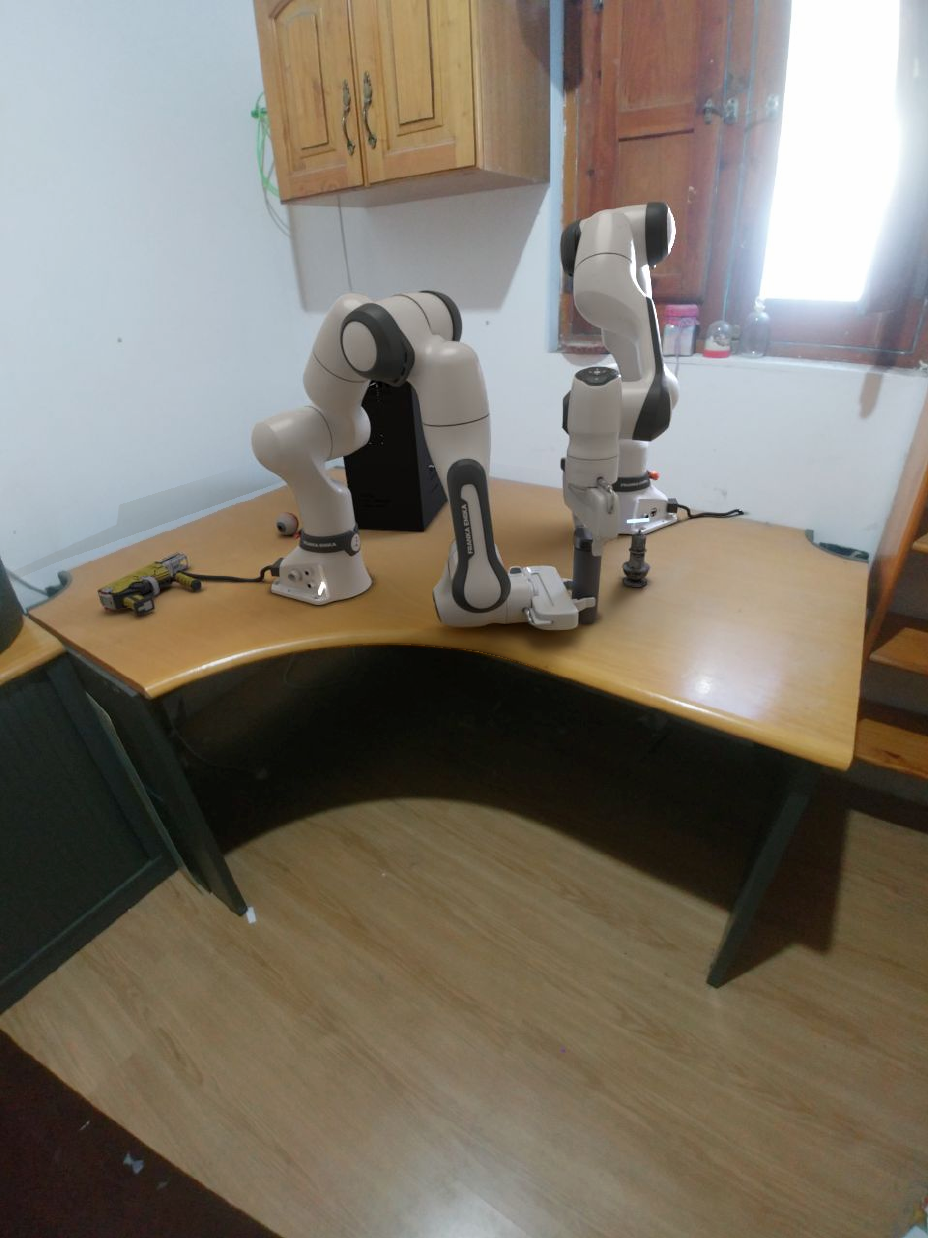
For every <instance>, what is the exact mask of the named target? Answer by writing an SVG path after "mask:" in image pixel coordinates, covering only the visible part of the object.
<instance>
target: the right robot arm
mask: <svg viewBox="0 0 928 1238" xmlns="http://www.w3.org/2000/svg"><path fill="white" fill-rule="evenodd" d="M675 235H676V226H675V220H674V217H673V214H672V213H671V210H670V207H669V206H668V204H666V203H665V202H664V201H648V202H647V203H646V204H635V205H626V206H621V207H615V208H610V209H609V208H608V209H607V208H606V209H602V210H600V211H597V212H596V213H594V214H592V215H591V216H589V217H587V218H585V219H582V218H579V219H577V220H574V221H572V222H571V223H569V224H567V225H566V227H565V228H564V230H563V231H562V232H561V235H560V242H559V247H558V248H559V249H558V256H559V261H560V264H561V266H562V270H563V272H564V274H565V275H566V276H567V277H568V278H570V279H571V280H573V282H572V283H573V284H572V285H573V286H572V287H573V289H572V290H573V302H574V307H575V308H576V310H577V312H578V313H579V315H580V316H581V317H582V318H583V319H584V320H585V321H586V322H587V323H589V324H590V325H592V326H594V327H596V328H598V329H600V330H601V341H602V345H603V347H604V348H605V349H606V350H607V351H608V353H610V355H611V356H612V358H613V359H614V362H615V363H607V364H603V365H597V366H589V367H585V368H583V369H580V370H578V371H577V372H576V373H574V375H573V378H572V381H571V388H570V390H569V391H568V392H567V393H566V394H565V395H564V396H563V398H562V423H561V425H562V426H561V428H562V429H563V431H564V433H566V434H567V435H568V438H569V440H568V445H567V447H566V455H565V456H563V457H560V461H559V467H560V470H561V471H562V478H561V479H562V498H563V502H564V505H565V506H566V507H567V508H568V509H569V510H570V511H571V516H572V522H573V532H574V531H575V530H577V529H580V528H587V529H588V530H589V531H590V532H591V533H592V534H593V538H594V540H593V544H591V547H590V548H591V549H590V552H591V553H592V554H593V556H601V555H602V556H603V552H604V546H605V544H606V542H607V541H608V540H615V539H616V538H618V536H619V534H623V535H625V534H626V535H632V536H633V535H634V534H635V533H638V531H639V529H640V530H641V533H643V534H644V535H646V534H650V533H652V532H654V531H657V530H660V529H662V528H665V527H668V526H670V525H672V524H675V523H677V522H678V516H677V515H676V514H678V510H679V509H682V510H685V511H686V515H687V517H688V518H690V519H697V518H700V517H704V516H706V517H707V516H709V517H727V516H730V515H732V514H735V513H738V514H739V515H744V514H745V513H744V511H743V510H741V511H739V510H740V509H739V508H734V509H731V510H729V511H727V512H711V511H710V512H709V511H708V512H707V511H705V512H699V513H697V514H692V513H691V508H689V506H686V505H683V504H680V503H679V502H678V500H677V499H676V498H675V497H674V498H668V497H667V496H666V495H665V494H664V493H663V492H661V491H660V490H659V489H658V488H656V487H655V486H654V485H652V483H651V480H653V481H658V479H659V478H660V473H659V472H657V471H654V470H651V471H649V470H648V469H647V466H648V458H649V457H648V455H649V447H650V443H651V442H653V441H654V440H656V439H657V438H659V437H660V436H661V435H663V434H664V433H665V432H667V430H668V429H669V428H670V423H671V421H672V417H673V411H674V409H675V408H676V406H677V404H678V401H679V398H680V394H681V393H680V392H681V389H680V383H679V380H678V379H677V377H676V376H675V375H674V374H673V373H672V372H671V371H670V370H669V369H668V367H667V366H666V364H665V361H664V354H663V347H662V341H661V333H660V327H659V322H658V318H657V317H658V316H657V310H656V307H655V304H654V300H653V299H652V298H653V297H652V284H651V274H650V269H651V270H654V269H655V268H656V266H657V265H659V264H661V263H662V262H664V261H665V259H666V258H667V257H668V256H669V255H670V254H671V248H672V246H673V244H674V241H675ZM649 268H650V269H649ZM678 508H679V509H678Z"/></svg>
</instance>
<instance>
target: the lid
mask: <svg viewBox="0 0 928 1238" xmlns="http://www.w3.org/2000/svg"><path fill="white" fill-rule="evenodd" d="M593 540H594V538H593V534H592V533H591V532H590V531H589V530H588V529H587V528H580V529H577V530H575V531H574V530H573V532H572V546H573V547H574V546H575V547H576V548H579V549H583V550H590V549H591V548H590V547H591V544H593Z"/></svg>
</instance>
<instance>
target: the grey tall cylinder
mask: <svg viewBox="0 0 928 1238" xmlns="http://www.w3.org/2000/svg"><path fill="white" fill-rule="evenodd" d="M602 557H603V554H602V555H601V556H593V554H592V553H591V552H590V550H583V549H579V548H576V547H575V546H574V545H573V557H572V559H573V561H572V577H571V580H572V590H571V596H570V597H571V599H577V600H580V599H583V598H584V596H590V595H592V596H593V597H594V598H595V600H596V601H595V606H594V607H587V608H585V609H583V610H581V611H579V612H578V624H591V623H594V622H595V621H597V619H598V610H599V597H600V596H599V595H600V582H601V570H602Z"/></svg>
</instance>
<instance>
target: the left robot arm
mask: <svg viewBox="0 0 928 1238" xmlns="http://www.w3.org/2000/svg"><path fill="white" fill-rule="evenodd" d="M462 335H463V319H462V315H461V312H460V309H459V307H458V306H457V304H456V302H455V301H454V300H453V299H452V298H451V297H450V296H448V295H447V294H445V293H443V292H440V291H435V290H431V289H427V290H419V291H417V292H415V291H414V292H404V293H398V294H397V293H396V294H393V295H392V296H389V297H386V298H385V297H384V298H382V299H380V300H377V301H374V300H373V299H371V298H370V297H368V296H366V295H363V294H361V293H355V292H349V293H344V294H343V295H341V296H339V297H338V298H337V299H336V300H335V301H334V302H333V304H332V305H331V307H330V309H329V310H328V311H327V313H326V315H325V317H324V318H323V321H322V323H321V324H320V327H319V329H318V331H317V334H316V336H315V339H314V342H313V345H312V347H311V350H310V354H309V355H308V359H307V362H306V364H305V367H304V371H303V373H302V384H303V389H304V391H305V393H306V395H307V397H308V399H309V400H310V401H311V402H310V403H309V404H307V405H305V406H301V407H297V408H293V409H289V410H285V411H280V412H276V413H273V414H271V415H270V416H268V417H265V418H264V419H262V420H260V421H259V422H257V423H255V424H254V426H253V428H252V430H251V436H250V445H251V449H252V452H253V454H254V457H255V458H256V460H257V461H258V463H259V464H260V465H261V466H262V467H263V468H264V469H266V470H267V471H269V472H270V473H272V474H274V475H276V476H278V477H280V478H281V480H283V481H284V482H285V483H286V484H287V486H288V487H289V488H290V490H291V491H292V494H293V496H294V499H295V501H296V505H297V508H298V512H299V516H300V521H301V525H302V527H301V528H300V529H299V530H298V531H296V532H295V533H293V534H292V535H293V537H294V538H293V540H297V539H299V543H298V545H297V546H296V547H294V548H293V549H292V550H291V551H290V552H289V553H288V554H287V555H286V556H285V557H279V558H278V559H277V560H275V562H274V563H273V564H270V565H265V566H264V567H262V568H261V569H260V571H259V572H260V573H259V576H258V577H256V578H243V577H237V576H231V575H211V574H210V575H209V574H208V575H207V574H199V573H197V574H196V573H191V572H187V571H183V570H178V571H177V573H181V574H183V575H186V576H189V577H191V578H193V579H198V580H208V581H209V580H210V581H231V582H238V583H259V582H262V581H264V579H265V575H266V573H267V571H269V572H270V576H271V577H277V578H276V579H275V580H274V581H273V583H272V584H271V588H270V590H271V593H273V594H275V595H279V596H282V597H286V598H290V599H293V600H298V601H301V602H303V603H304V602H305V603H307V604H311V605H316V606H324V605H326V604H329V603H332V602H335V601H342V600H346V599H350V598H353V597H357V596H358V595H360V594H361V595H362V594H363V593H364V592H366V591H367V590H368V589H369V588H370V587H371V586H372V582H373V581H372V578H371V576H370V575H369V572H368V570H367V567H366V564H365V562H364V559H363V554H362V551H361V550H362V549H361V536H360V531H359V528H358V525H357V523H356V522H355V518H354V511H353V504H352V498H351V493H350V490H349V489H348V486H347V484H345V483H343V481H340V480H338V479H336V478H333V477H330V476H329V474H328V472H327V469H326V462H330V461H333V460H336V459H339V458H343V456H346V455H349V454H351V453H353V452H355V451H356V450H358V449H359V448H361V447H362V446H364V445H365V444H366V443H367V442H368V440H369V437H370V431H371V427H370V421H369V418H368V416H367V413H366V412H365V410H364V409H363V408H362V407H361V403H362V400H363V397H364V395H365V393H366V390H367V388H368V387H369V383H370V381H371V380H374V381H381V382H385V383H387V384H389V385H392V386H395V387H399V386H401V385H402V384H403V383H404V382H405V381H408V382H409V383H410V384H411V385H412V386H413V387H414V389H415V390H416V392H417V395H418V399H419V404H420V411H421V419H422V426H423V431H424V436H425V440H426V443H427V447H428V450H429V453H430V456H431V459H432V462H433V464H434V466H433V467H435V469H436V472H437V474H438V476H439V479H440V481H441V483H442V486H443V488H444V491H445V493H446V496H447V499H448V500H447V503H448V505H449V509H450V513H451V520H452V527H453V533H454V539H453V540H452V542H451V544H450V545H449V549H448V554H447V558H446V562H445V565H444V569H443V571H442V574H441V576H440V579H439V581H438V582H437V584H436V585H435V586H434V587H433V589H432V600H433V604H434V610H435V613H436V616H437V618H438V620H439V622H440V623H441V624H442V625H444V626H446V627H450V628H451V627H452V628H473V627H484V626H487V625H489V624H494V623H495V624H502V625H506V624H507V625H508V624H516V623H527V624H528V625H532V626H534V627H535V628H538V629H540V630H544V631H567V630H569V631H570V630H573V629H576V628H577V627H578V626H579V623H578V612H579V611H581V610H583V609H585V608H587V607H594V606H595V601H596V600H595V598H594V597H593V596H592V595H590V596H584V598H583V599H580V600H577V599H571V597H572V596H571V594H570V593H569V590H570V591H572V578H571V579H570V578H567V577H565V578H561V576H560V574H559V572H558V570H557V569H556V567H554V566H553V565H552V566H551V565H530V566H525V567H521V566H520V565H514V566H510V567H509V569H508V572H507V570H506V568H505V565H504V562H503V560H502V557H501V554H500V551H499V548H498V546H497V544H496V543H495V535H494V528H493V520H492V513H491V506H490V505H491V504H490V472H491V470H490V469H491V453H492V452H491V451H492V423H491V420H492V419H491V411H490V404H489V396H488V391H487V386H486V381H485V376H484V372H483V369H482V366H481V362H480V359H479V356H478V354H477V352H476V351H475V349H474V348H472V347H471V346H470V345H468V344H467V343H465V342H461V339H462ZM177 573H176V574H177Z"/></svg>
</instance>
